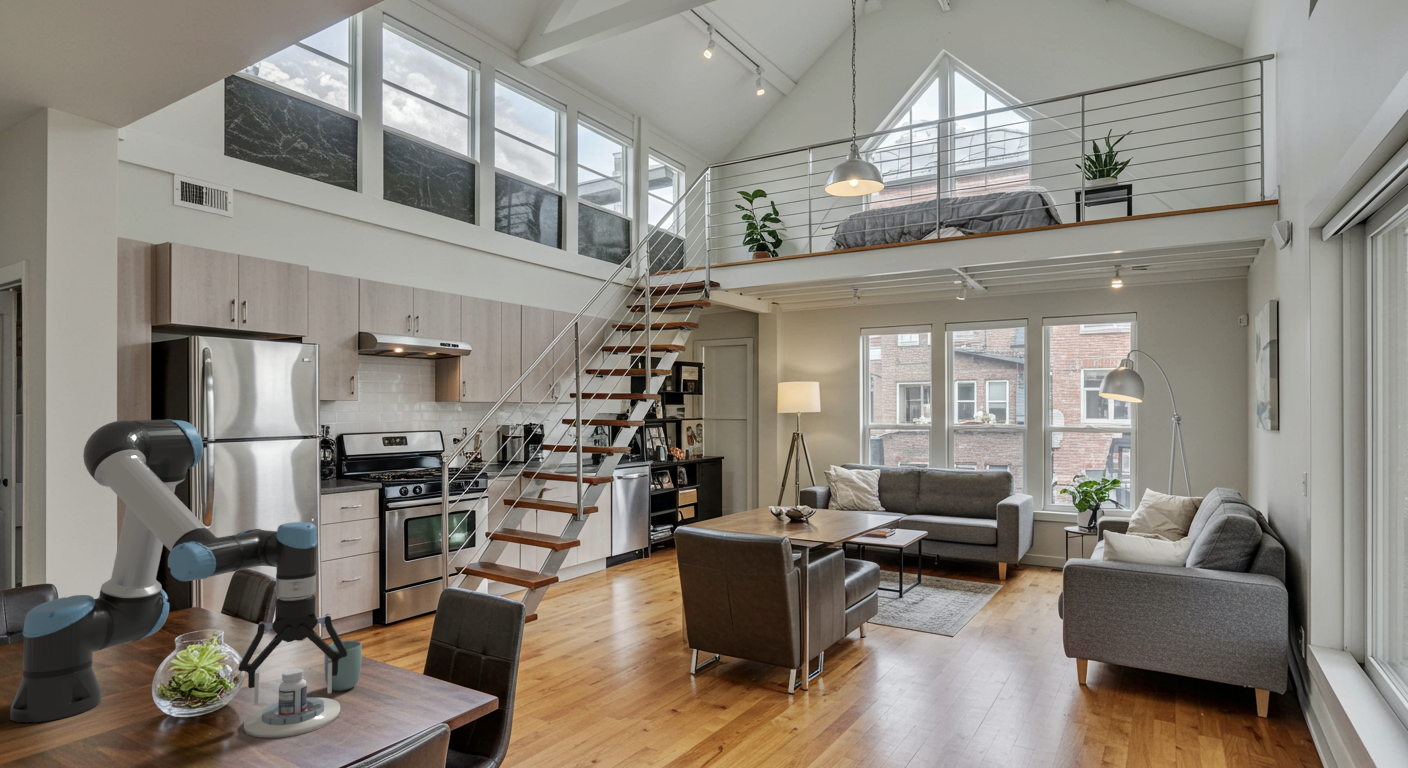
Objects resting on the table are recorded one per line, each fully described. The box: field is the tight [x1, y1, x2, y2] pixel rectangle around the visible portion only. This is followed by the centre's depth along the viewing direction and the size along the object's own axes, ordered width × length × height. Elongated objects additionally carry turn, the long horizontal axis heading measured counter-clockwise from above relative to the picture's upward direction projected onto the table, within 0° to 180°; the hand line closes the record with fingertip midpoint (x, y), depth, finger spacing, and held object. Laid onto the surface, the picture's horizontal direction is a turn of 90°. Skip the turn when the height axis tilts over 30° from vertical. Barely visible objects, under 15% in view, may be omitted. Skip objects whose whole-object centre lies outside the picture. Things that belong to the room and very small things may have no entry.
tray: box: [243, 696, 341, 739], centre depth 159 cm, size 18×18×2 cm
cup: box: [323, 640, 363, 692], centre depth 177 cm, size 8×8×10 cm
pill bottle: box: [278, 668, 308, 715], centre depth 159 cm, size 5×5×9 cm
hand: (293, 696), depth 159 cm, fingers open, 13 cm apart
